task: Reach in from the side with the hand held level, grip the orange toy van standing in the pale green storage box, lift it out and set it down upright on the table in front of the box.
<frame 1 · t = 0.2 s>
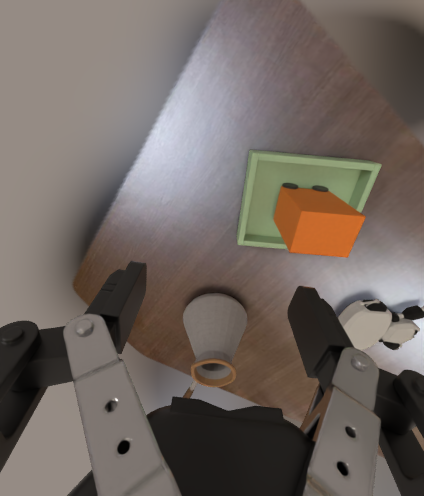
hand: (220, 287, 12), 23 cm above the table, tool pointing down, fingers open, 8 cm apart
coffee pot: (202, 323, 46), on the table
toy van: (297, 203, 33), resting on storage box
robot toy: (369, 315, 44), on the table
storage box: (296, 202, 33), on the table
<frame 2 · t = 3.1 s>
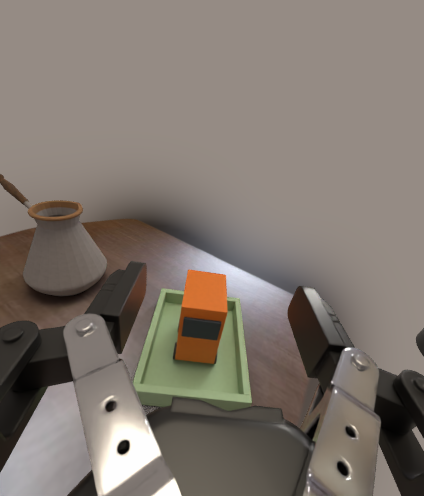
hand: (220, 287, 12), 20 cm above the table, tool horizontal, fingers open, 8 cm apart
coffee pot: (51, 270, 41), on the table
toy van: (195, 344, 32), resting on storage box
storage box: (195, 346, 32), on the table
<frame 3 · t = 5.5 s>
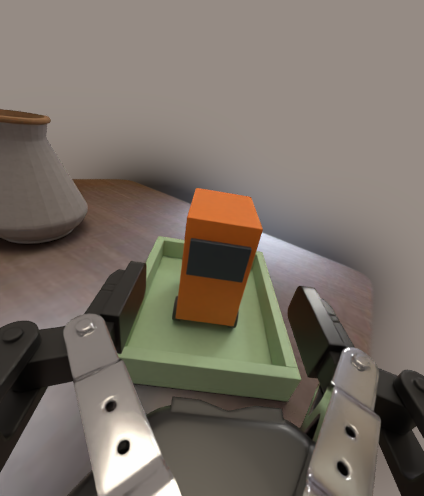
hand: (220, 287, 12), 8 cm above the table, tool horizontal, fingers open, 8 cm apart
coffee pot: (16, 217, 31), on the table
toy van: (205, 303, 22), resting on storage box
storage box: (204, 307, 22), on the table
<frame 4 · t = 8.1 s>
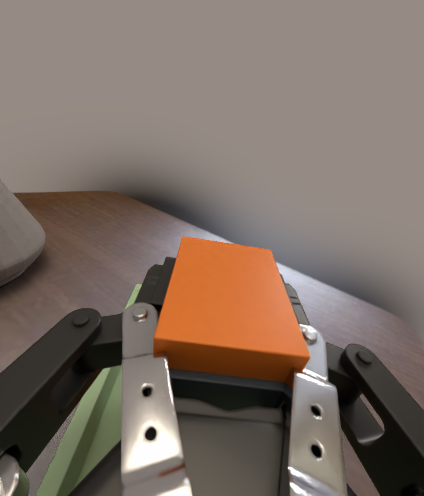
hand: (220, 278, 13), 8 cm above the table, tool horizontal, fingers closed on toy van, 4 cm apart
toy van: (198, 403, 15), point 1 cm above the table, touching gripper, storage box
storage box: (197, 407, 15), on the table
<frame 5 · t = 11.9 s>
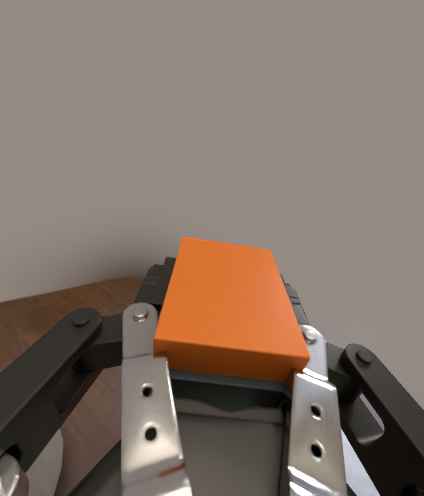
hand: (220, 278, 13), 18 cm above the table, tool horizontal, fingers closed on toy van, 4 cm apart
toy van: (198, 403, 15), point 10 cm above the table, touching gripper
when the fingers open (8 cm above the table, at t = 15.7 s): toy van stays where it is, on the table.
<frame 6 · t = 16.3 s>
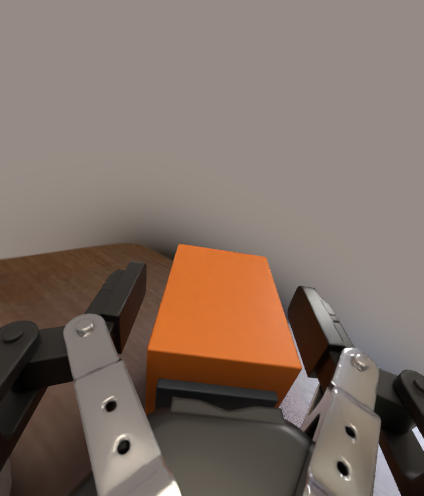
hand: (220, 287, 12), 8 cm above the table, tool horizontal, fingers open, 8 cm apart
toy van: (195, 408, 15), on the table
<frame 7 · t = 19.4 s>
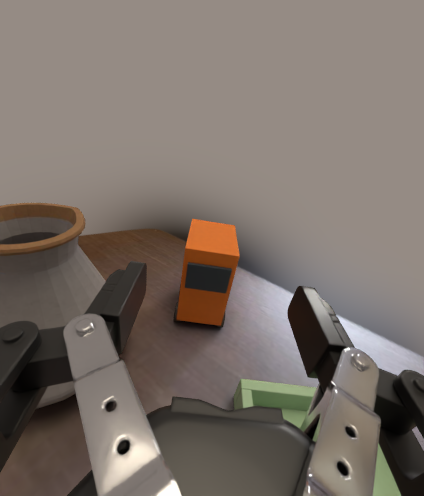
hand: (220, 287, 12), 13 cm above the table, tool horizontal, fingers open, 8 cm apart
coffee pot: (26, 328, 22), on the table
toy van: (199, 308, 28), on the table
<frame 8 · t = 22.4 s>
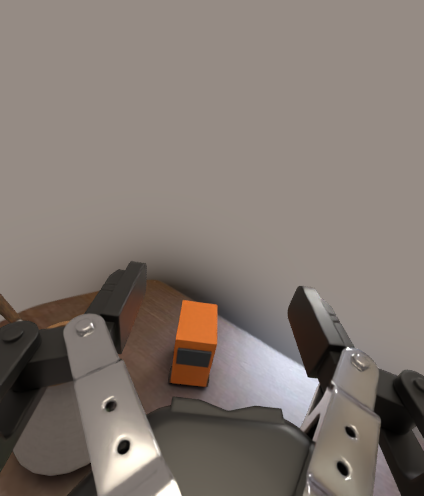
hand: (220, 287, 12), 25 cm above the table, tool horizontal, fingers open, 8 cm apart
coffee pot: (54, 394, 29), on the table
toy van: (189, 366, 34), on the table
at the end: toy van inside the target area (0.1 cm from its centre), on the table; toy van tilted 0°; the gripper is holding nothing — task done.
